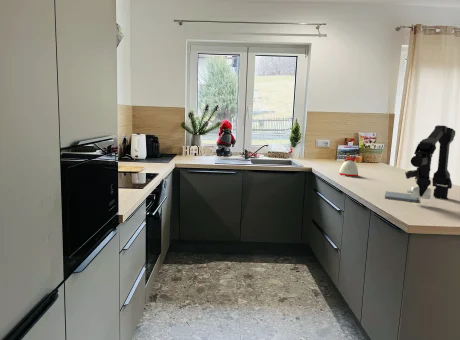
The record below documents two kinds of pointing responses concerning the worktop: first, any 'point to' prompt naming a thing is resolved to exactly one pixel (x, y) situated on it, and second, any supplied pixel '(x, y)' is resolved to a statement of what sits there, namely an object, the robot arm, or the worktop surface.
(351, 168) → the kitchen timer
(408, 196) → the slate mat
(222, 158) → the worktop surface
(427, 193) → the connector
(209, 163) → the worktop surface
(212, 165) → the worktop surface
